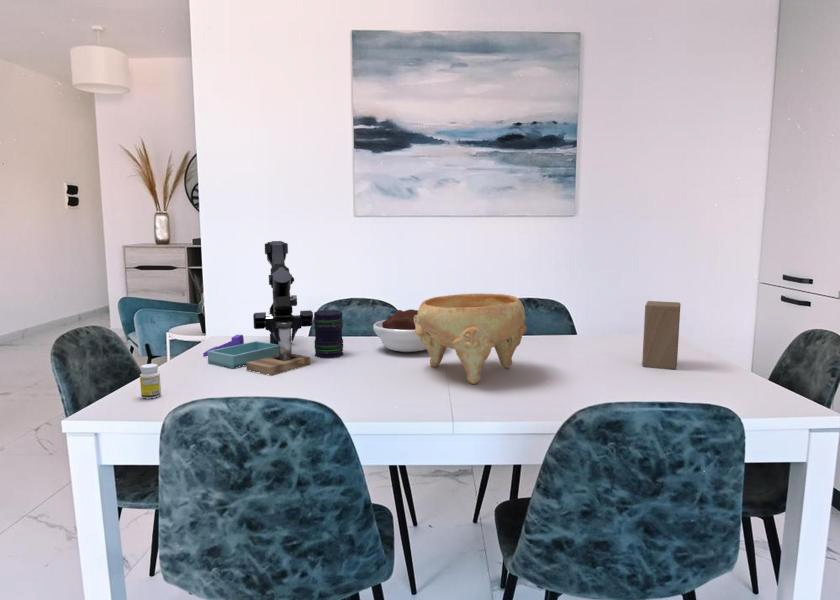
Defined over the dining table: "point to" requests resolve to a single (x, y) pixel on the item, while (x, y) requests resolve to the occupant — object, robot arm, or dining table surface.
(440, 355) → the decorative bowl
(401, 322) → the white bowl of pudding
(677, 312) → the wooden block
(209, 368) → the dining table surface
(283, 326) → the pin
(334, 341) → the storage jar
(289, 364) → the block
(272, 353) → the tray
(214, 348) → the bracket
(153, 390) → the supplement bottle
